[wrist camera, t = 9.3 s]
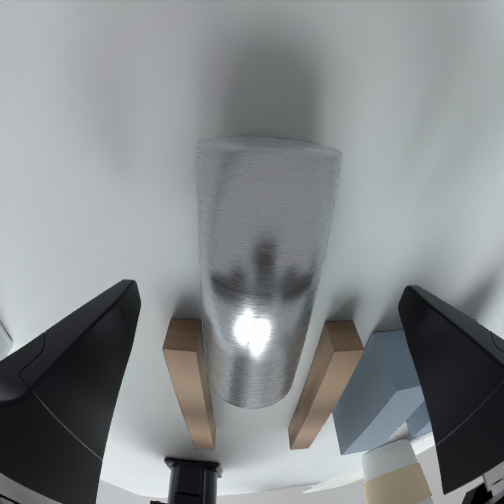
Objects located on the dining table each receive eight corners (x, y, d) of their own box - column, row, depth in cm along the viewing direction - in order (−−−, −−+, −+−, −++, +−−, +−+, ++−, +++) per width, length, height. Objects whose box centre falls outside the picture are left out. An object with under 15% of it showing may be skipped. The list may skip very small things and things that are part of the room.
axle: (298, 350, 14) (286, 416, 10) (223, 335, 14) (196, 395, 11) (337, 145, 9) (348, 166, 5) (224, 134, 9) (169, 149, 6)
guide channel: (305, 428, 20) (308, 448, 18) (197, 428, 19) (195, 448, 17) (352, 320, 13) (364, 349, 11) (171, 318, 13) (162, 349, 11)
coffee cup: (368, 445, 24) (389, 549, 11) (427, 428, 24) (454, 518, 11) (345, 466, 29) (358, 550, 16) (398, 453, 29) (417, 529, 16)
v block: (423, 393, 18) (437, 429, 15) (331, 411, 18) (341, 455, 15) (475, 319, 14) (502, 358, 11) (372, 332, 14) (396, 391, 10)
